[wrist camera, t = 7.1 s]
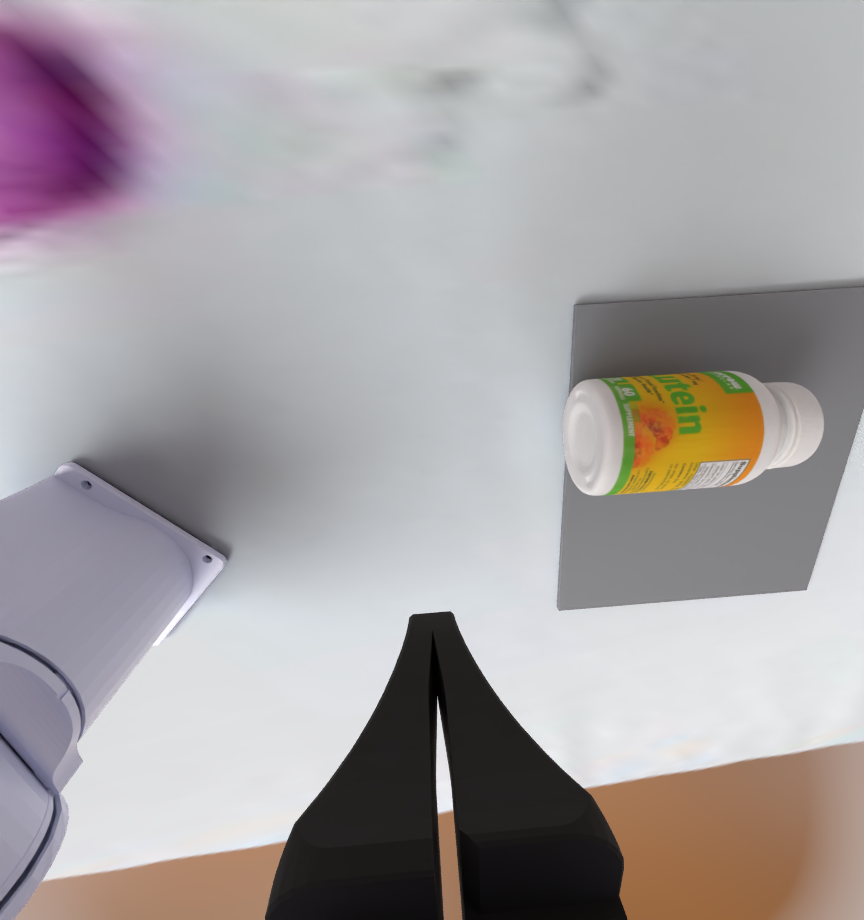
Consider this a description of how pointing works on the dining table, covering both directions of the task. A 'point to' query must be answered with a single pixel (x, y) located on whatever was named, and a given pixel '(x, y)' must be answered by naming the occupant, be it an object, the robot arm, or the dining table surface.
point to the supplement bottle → (685, 431)
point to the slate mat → (720, 508)
